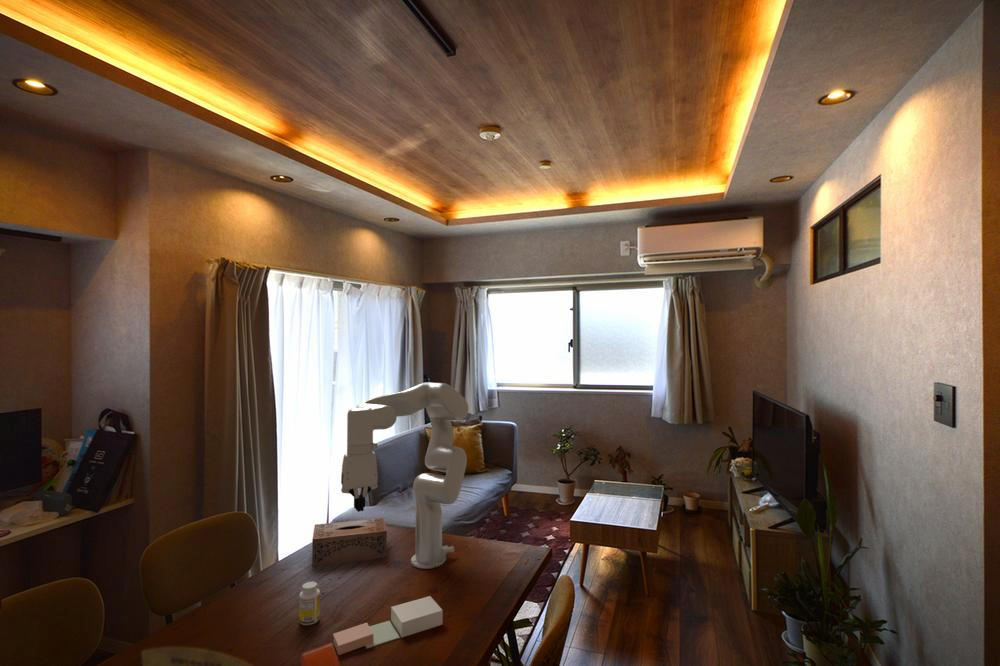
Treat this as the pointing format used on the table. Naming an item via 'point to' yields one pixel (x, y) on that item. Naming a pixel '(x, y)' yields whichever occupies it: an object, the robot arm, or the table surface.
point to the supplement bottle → (309, 604)
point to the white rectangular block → (416, 616)
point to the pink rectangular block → (353, 638)
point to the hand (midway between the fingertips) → (359, 509)
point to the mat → (383, 633)
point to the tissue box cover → (349, 541)
